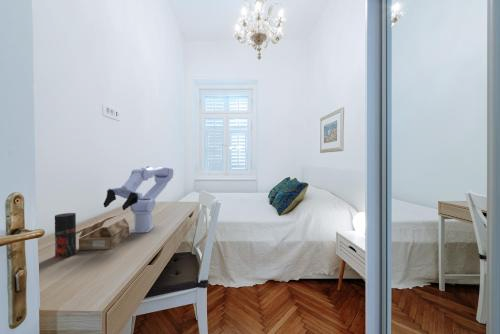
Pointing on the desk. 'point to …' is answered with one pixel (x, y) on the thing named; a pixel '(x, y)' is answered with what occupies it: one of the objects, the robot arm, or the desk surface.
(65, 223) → the deodorant
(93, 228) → the flap
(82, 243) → the carton
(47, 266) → the desk surface
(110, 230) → the flap
